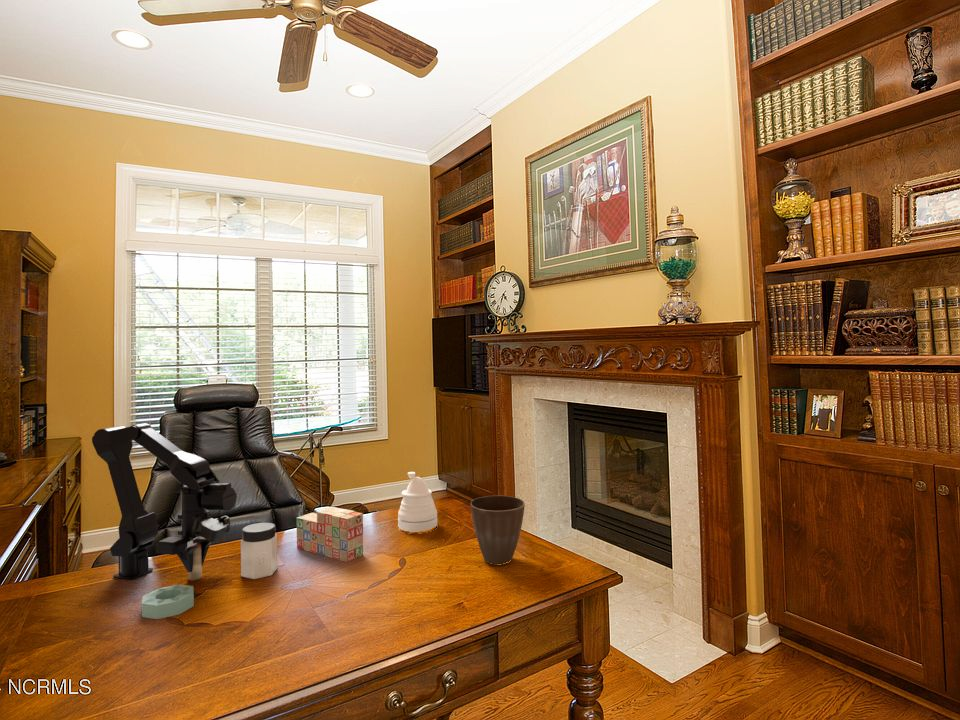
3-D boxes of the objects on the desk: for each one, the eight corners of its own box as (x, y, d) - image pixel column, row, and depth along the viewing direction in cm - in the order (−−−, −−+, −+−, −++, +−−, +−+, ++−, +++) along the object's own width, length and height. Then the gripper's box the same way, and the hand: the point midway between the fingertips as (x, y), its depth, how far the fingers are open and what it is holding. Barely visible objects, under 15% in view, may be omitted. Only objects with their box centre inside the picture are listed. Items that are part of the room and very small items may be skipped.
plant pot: (536, 562, 145) (536, 504, 145) (492, 576, 136) (491, 513, 136) (503, 547, 157) (503, 492, 157) (460, 558, 149) (460, 501, 149)
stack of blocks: (296, 548, 158) (295, 507, 158) (313, 542, 164) (312, 502, 164) (347, 562, 147) (346, 518, 147) (363, 555, 152) (363, 512, 152)
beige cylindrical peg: (185, 579, 137) (185, 546, 137) (195, 575, 140) (194, 542, 140) (195, 581, 136) (194, 547, 136) (204, 576, 139) (203, 543, 139)
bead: (131, 615, 118) (131, 601, 118) (169, 595, 128) (169, 583, 128) (168, 620, 115) (167, 607, 115) (203, 600, 125) (203, 587, 125)
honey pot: (392, 532, 171) (392, 476, 171) (405, 520, 184) (404, 468, 184) (431, 534, 169) (431, 477, 169) (441, 522, 182) (440, 469, 182)
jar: (244, 582, 135) (243, 534, 135) (238, 571, 142) (237, 526, 141) (281, 573, 140) (280, 528, 140) (273, 564, 147) (273, 520, 146)
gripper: (190, 522, 126) (192, 588, 127) (245, 501, 144) (246, 558, 145) (153, 518, 129) (154, 583, 130) (211, 498, 147) (212, 555, 148)
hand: (195, 569), depth 138 cm, fingers closed on beige cylindrical peg, 3 cm apart
